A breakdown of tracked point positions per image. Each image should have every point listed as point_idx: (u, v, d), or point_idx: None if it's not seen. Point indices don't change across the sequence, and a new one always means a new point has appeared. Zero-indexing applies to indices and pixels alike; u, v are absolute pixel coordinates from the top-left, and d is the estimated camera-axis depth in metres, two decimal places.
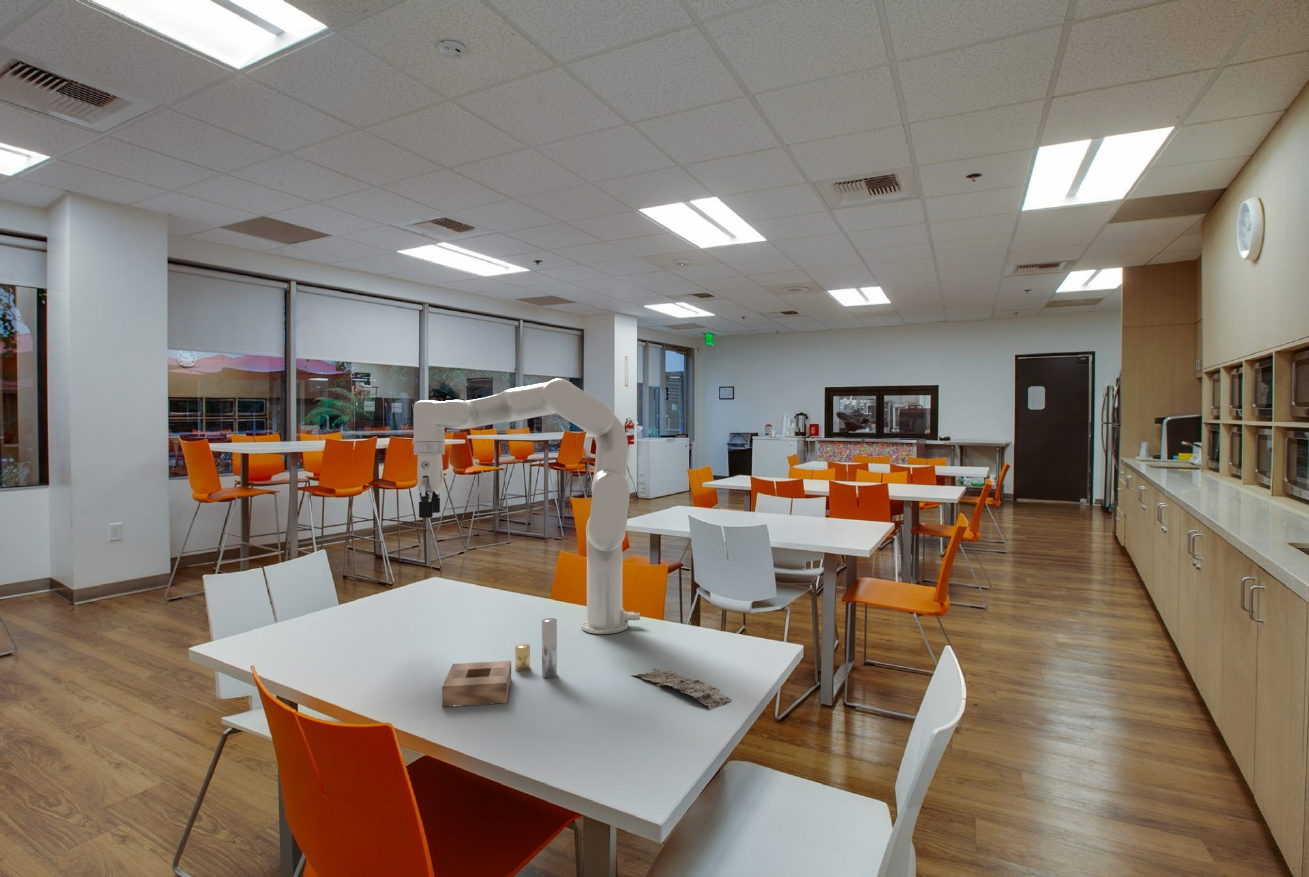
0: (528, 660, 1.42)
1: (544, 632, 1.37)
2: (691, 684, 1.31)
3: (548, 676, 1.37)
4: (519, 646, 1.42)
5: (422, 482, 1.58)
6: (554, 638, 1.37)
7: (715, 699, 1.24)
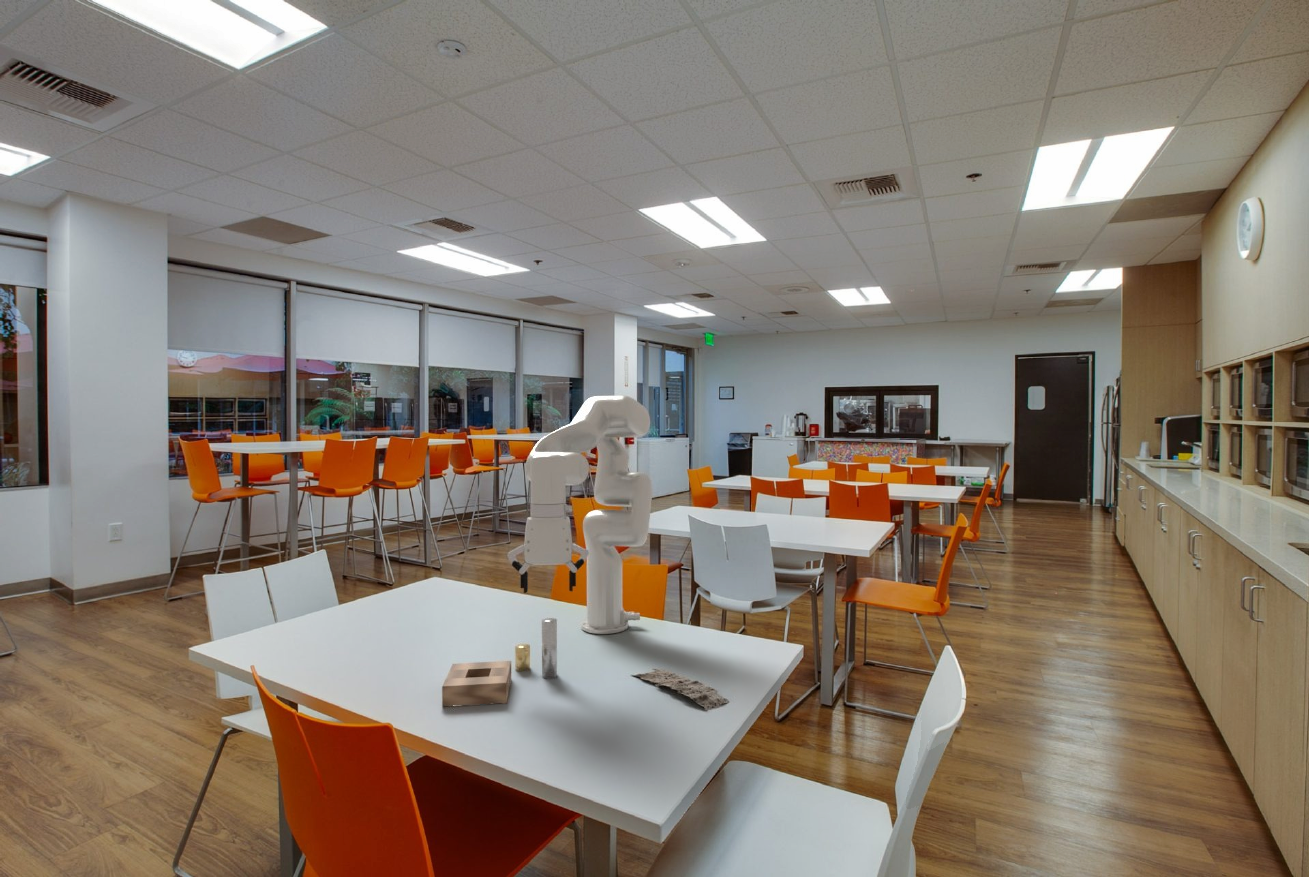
0: (528, 660, 1.42)
1: (544, 632, 1.37)
2: (689, 685, 1.30)
3: (548, 676, 1.37)
4: (519, 646, 1.42)
5: (582, 548, 1.39)
6: (554, 638, 1.37)
7: (712, 700, 1.23)
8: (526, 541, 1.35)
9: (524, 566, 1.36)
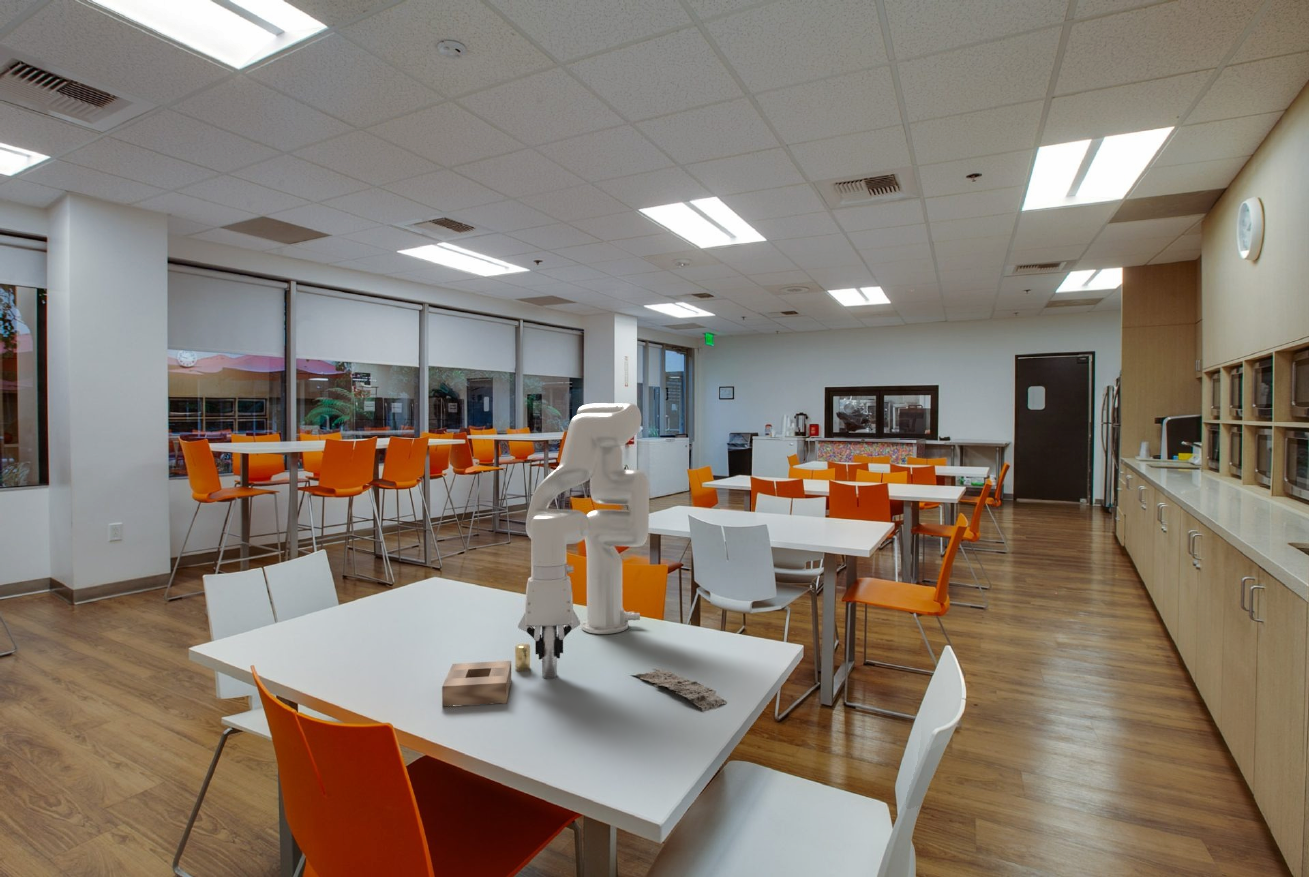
0: (528, 660, 1.42)
1: (544, 632, 1.37)
2: (688, 685, 1.30)
3: (548, 676, 1.37)
4: (519, 646, 1.42)
5: (577, 617, 1.39)
6: (554, 638, 1.37)
7: (710, 701, 1.23)
8: (527, 603, 1.36)
9: (536, 632, 1.36)
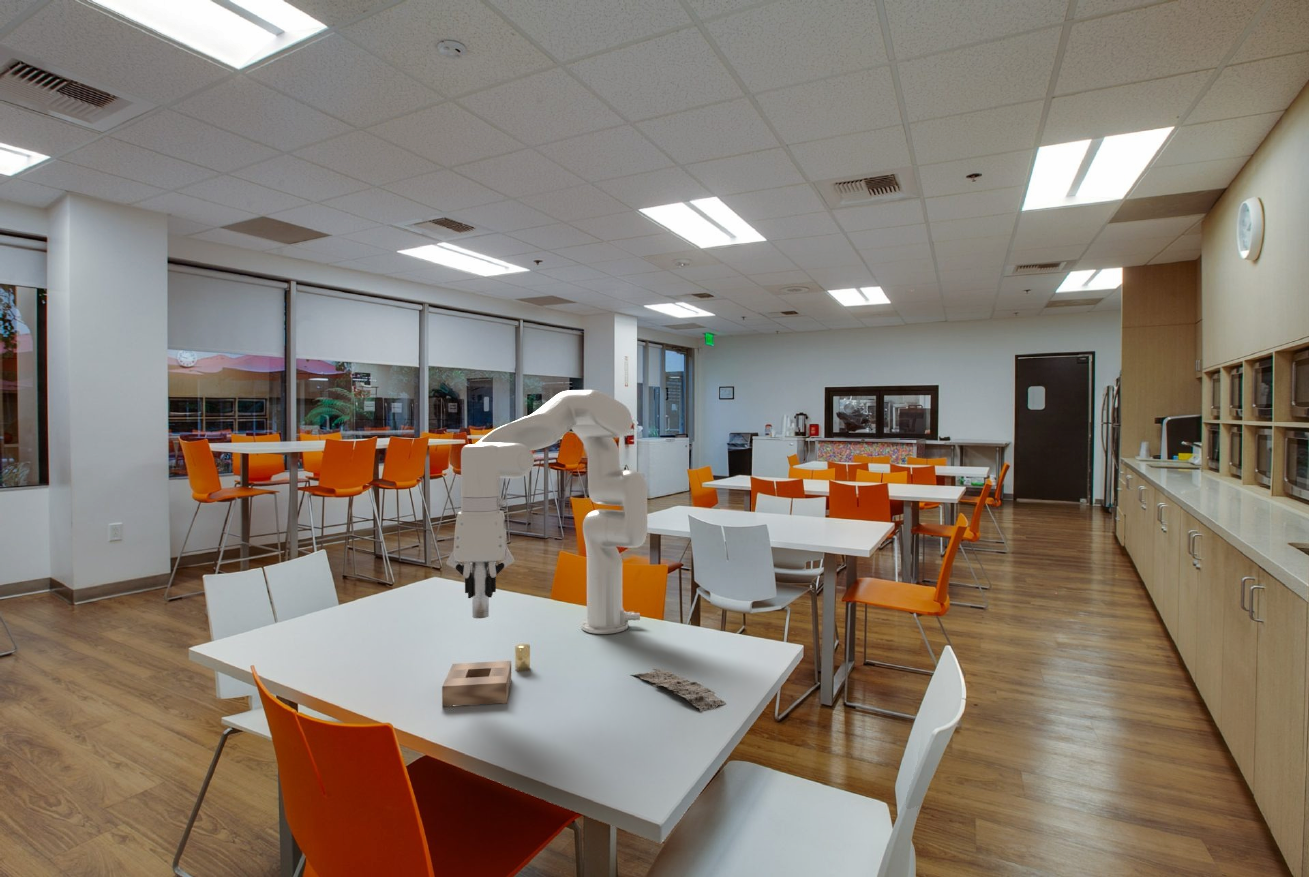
0: (528, 660, 1.42)
1: (474, 568, 1.28)
2: (687, 686, 1.30)
3: (478, 616, 1.28)
4: (519, 646, 1.42)
5: (510, 554, 1.30)
6: (485, 575, 1.28)
7: (708, 701, 1.22)
8: (455, 537, 1.27)
9: (465, 569, 1.28)
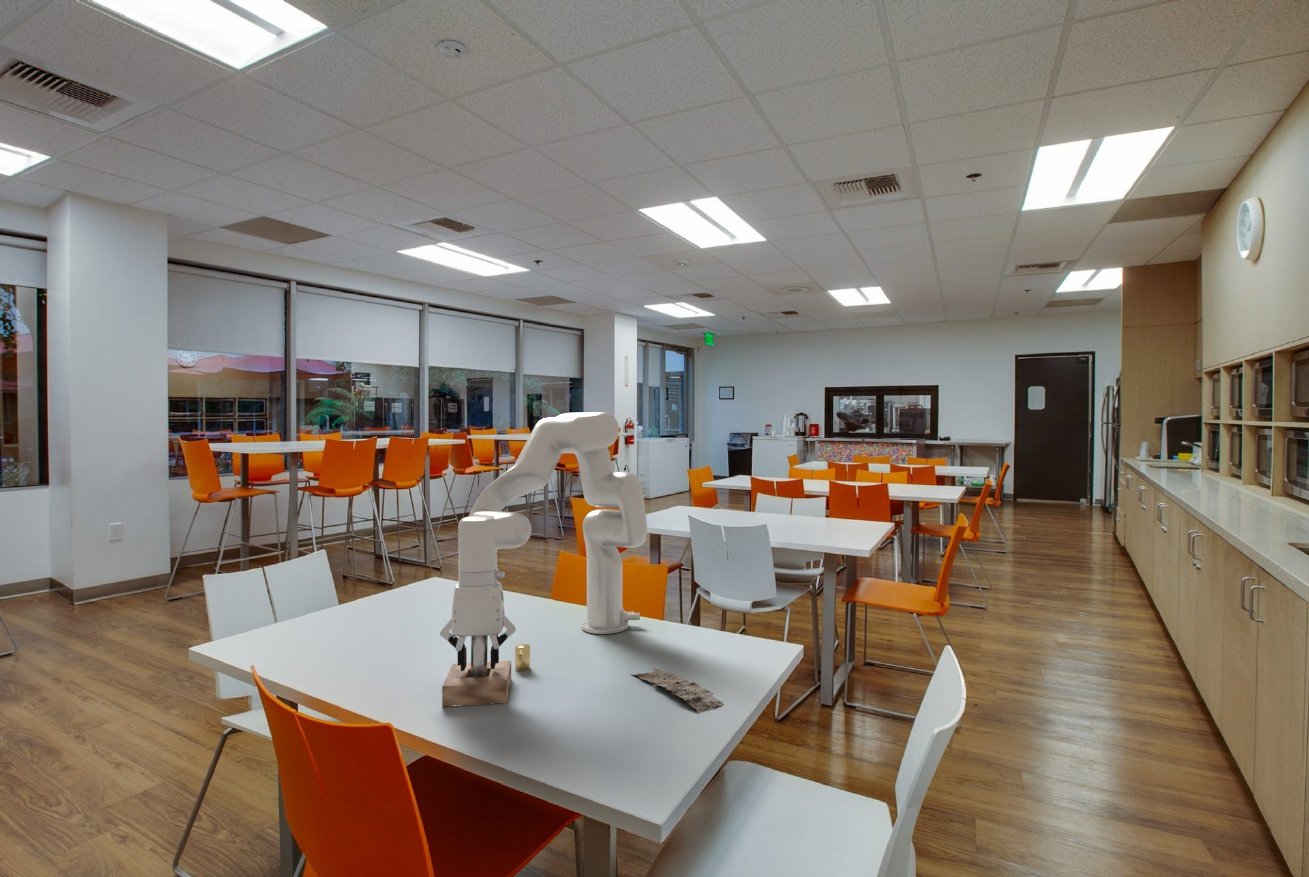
0: (528, 660, 1.42)
1: (473, 645, 1.28)
2: (686, 686, 1.30)
3: None
4: (519, 646, 1.42)
5: (510, 623, 1.30)
6: (484, 652, 1.28)
7: (705, 702, 1.22)
8: (453, 611, 1.27)
9: (459, 642, 1.27)
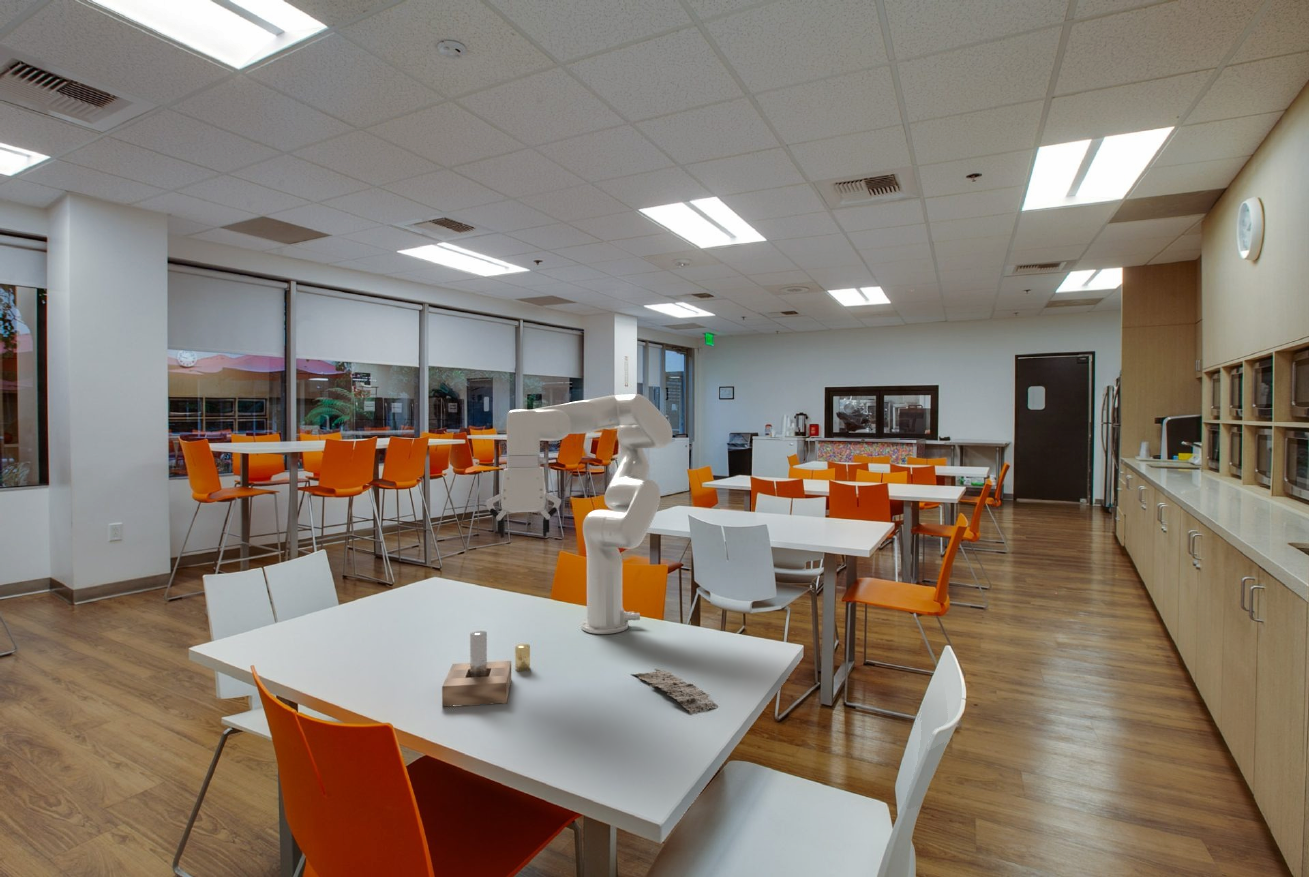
0: (528, 660, 1.42)
1: (472, 646, 1.28)
2: (683, 687, 1.29)
3: None
4: (519, 646, 1.42)
5: (555, 497, 1.50)
6: (483, 652, 1.28)
7: (699, 704, 1.21)
8: (503, 489, 1.46)
9: (501, 513, 1.47)
